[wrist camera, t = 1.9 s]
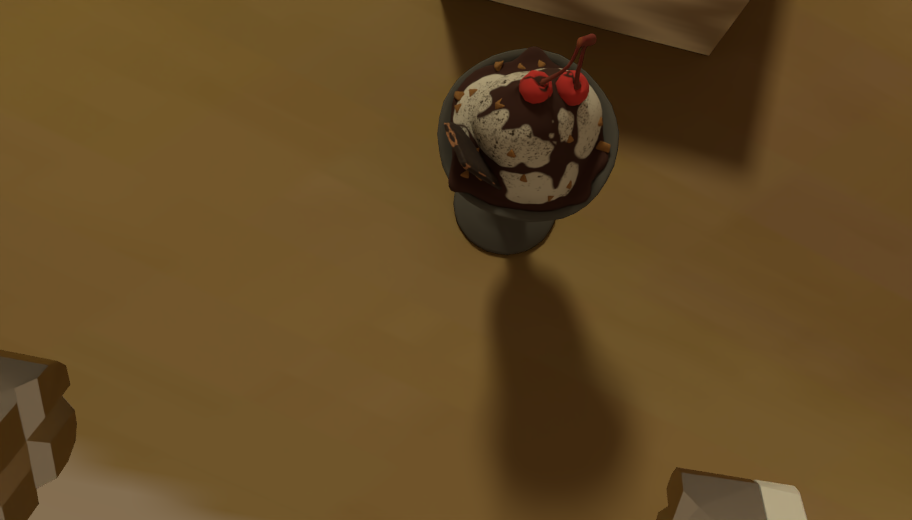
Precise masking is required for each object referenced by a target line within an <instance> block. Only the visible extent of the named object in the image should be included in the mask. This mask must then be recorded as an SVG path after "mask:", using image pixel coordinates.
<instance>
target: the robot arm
mask: <svg viewBox="0 0 912 520" xmlns="http://www.w3.org/2000/svg"><path fill="white" fill-rule="evenodd" d="M69 386H70V381H69V376H68V372H67V367H66V365H64V364H62V363H60V362H58V361H55V360H50V359H45V358H40V357H35V356H30V355H24V354H19V353H14V352H9V351H4V350H0V520H28V518H29V517H30V515H31V514H32V512H33V511H34V510H35V508H36V507H37V506H38V504H39V502H38V496H37V488H39V487H41V486H43V485H44V484H46V483H48V482H50V481H52V480H54V479H56V478H57V477H58V476H59V474H60V473H61V471H62V470H63V468H64V467H65V465H66V464H67V462H68V460H69V457H70V455H71V452H72V449H73V446H74V443H75V441H76V428H77V422H76V415H75V410H74V409H73V408H72V406H71V405H70V404H69V403H68V402H67V401H66V400H65V399H64V398H63V396H62V395H63V394H64V392H65V391H66V390H67V388H68V387H69ZM667 499H668V507H666V508H664V509H663V510H661V511H660V512H658V515H657V519H656V520H807V516H806V513H805V509H804V506H803V502H802V498H801V495H800V492H799V491H798V490H797V489H796V487H795V486H791V485H785V484H779V483H772V482H766V481H760V480H754V481H753V480H751V479H745V478H739V477H733V476H727V475H721V474H715V473H708V472H702V471H696V470H690V469H684V468H678V467H676V469H675V470H674V471H673V473H672V474H671V477H670V480H669V483H668V486H667Z"/></svg>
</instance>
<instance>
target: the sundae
mask: <svg viewBox="0 0 912 520" xmlns="http://www.w3.org/2000/svg"><path fill="white" fill-rule="evenodd" d="M596 41H597V39H596V35H595V34H592V33H591V34H589V35H586V36H583V37H580V38H578V40H577V46H576V48H575V51H574V53H573V56H572V58H571V60H568V59H567V58H565V57H563V56H561V55H560V54H556V53H552V52H548V51H544V50H542V49H540V48H539V47H535V46H534V47H529V48H524V49H518V50H512V51H507V52H503V53H500V54H497V55H493V56H491V57H490V58H488V59H486V60H484V61H482V62H480V63H478V64H477V65H475V66H474V67H472V68H471V69H469V70H468V71H467V72H466V73H464V74H463V75H462V76H461V77H460V78H459V79H458V80H457V81H456V83H455V84H454V85H453V87H452V88H451V90H450V91H449V93H448V95H447V96H446V98H445V100H444V102H443V106H442V110H441V113H440V117H439V125H438V133H437V135H438V144H439V152H440V157H441V161H442V166H443V168H444V171H445V173H446V175H447V177H448V179H449V182H448V183H449V188H450V189H451V191H454V192H455V196H454V204H453V205H454V211H455V216H456V219H457V223H458V225H459V226H460V228H461V230H462V231H463V233H464V234H465V235H466V236H467V238H468V239H469V240H470V241H471V242H473V243H474V244H476V245H477V246H479V247H480V248H482V249H484V250H486V251H489V252H493V253H497V254H506V255H508V254H515V253H520V252H523V251H527V250H529V249H530V248H532V247H534V246H535V245H537V244H538V243H539V242H540V241H542V240H543V239H544V238H545V236H546V235H547V234H548V232H549V231H550V229H551V227H552V225H553V223H554V220H556V219H562V218H565V217H567V216H570V215H572V214H574V213H576V212H578V211H579V210H581V209H582V208H584V207H585V206H587V205H588V204H589V203H590V202H591V201H592V200H593V199H594V198H595V197H596V196H597V195H598V193H599V192H600V190H601V189H602V187H603V186H604V184H605V183H606V181H607V179H608V177H609V175H610V173H611V171H612V169H613V167H614V164H615V160H616V155H617V151H618V140H619V130H618V125H617V120H616V116H615V113H614V111H613V108H612V105H611V103H610V102H609V100H608V98H607V97H606V95H605V93H604V92H603V91H602V89H601V88H600V87H599V85H598V84H597V83H596V82H595V81H594V80H593V78H592V77H591V76H590V75H589V74H588V73H587V72H586V71H585V70H583V69H582V68H581V67H582V63H583V58H584V54H585V50H586V48H587V46H591V45H593V44H595V43H596ZM581 47H582V50H581V54H580V58H579V62H578V65H577V64H575V63H574V62H573V61H574V59H575V58H576V56H577V54H578V51H579V49H580V48H581Z"/></svg>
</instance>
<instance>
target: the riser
mask: <svg viewBox="0 0 912 520" xmlns="http://www.w3.org/2000/svg"><path fill="white" fill-rule="evenodd" d="M491 1H495V2H499V3H503V4H507V5H511V6H515V7H519V8H523V9H527V10H531V11H534V12H538V13H542V14H546V15H550V16H554V17H558V18H562V19H566V20H570V21H574V22H578V23H582V24H586V25H590V26H594V27H598V28H602V29H606V30H610V31H613V32H617V33H621V34H625V35H629V36H633V37H637V38H641V39H645V40H649V41H653V42H657V43H661V44H665V45H669V46H673V47H677V48H681V49H685V50H689V51H692V52H696V53H700V54H704V55H708V56H709V55H710V53H711V52H712V51H713V49H714V48H715V47H716V45H717V44H718V43H719V41H720V40H721V39H722V37H723V36H724V34H725V33H726V32H727V30H728V29H729V28H730V26H731V25H732V24H733V22H734V21H735V20H736V18H737V17H738V16H739V14H740V13H741V12H742V10H743V9H744V7H745V6H746V5H747V3H748V2H749V1H750V0H491Z"/></svg>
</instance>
